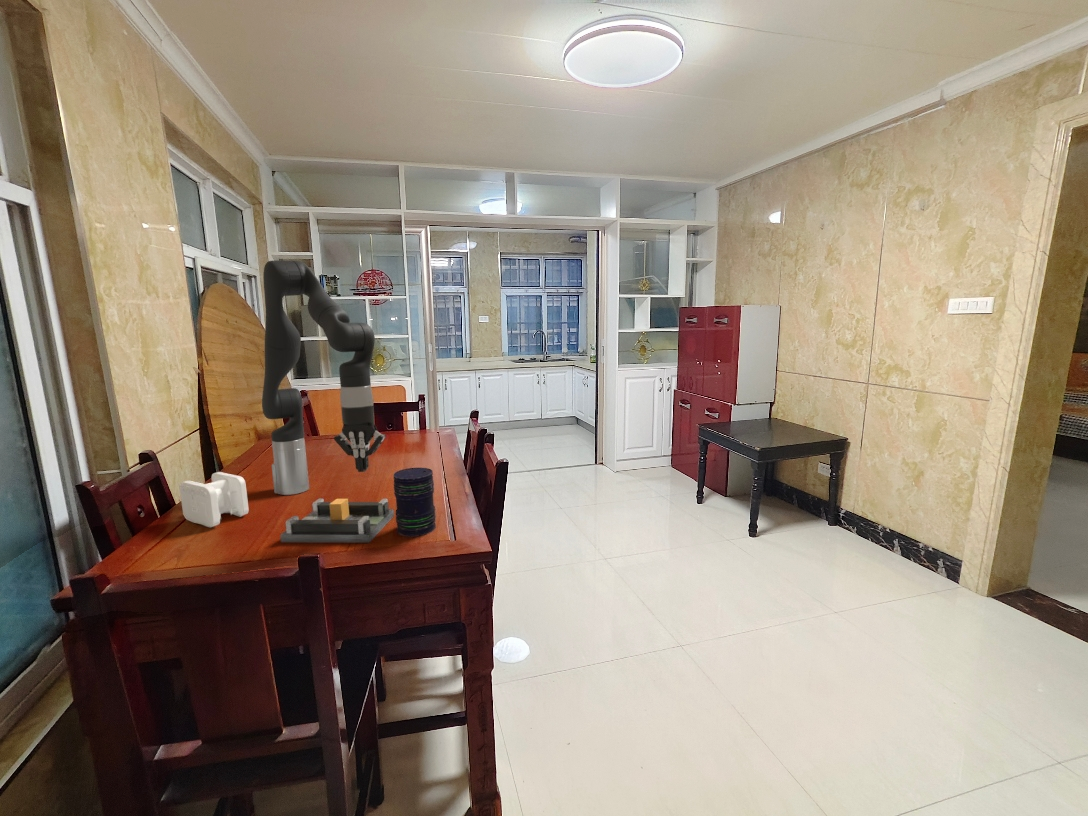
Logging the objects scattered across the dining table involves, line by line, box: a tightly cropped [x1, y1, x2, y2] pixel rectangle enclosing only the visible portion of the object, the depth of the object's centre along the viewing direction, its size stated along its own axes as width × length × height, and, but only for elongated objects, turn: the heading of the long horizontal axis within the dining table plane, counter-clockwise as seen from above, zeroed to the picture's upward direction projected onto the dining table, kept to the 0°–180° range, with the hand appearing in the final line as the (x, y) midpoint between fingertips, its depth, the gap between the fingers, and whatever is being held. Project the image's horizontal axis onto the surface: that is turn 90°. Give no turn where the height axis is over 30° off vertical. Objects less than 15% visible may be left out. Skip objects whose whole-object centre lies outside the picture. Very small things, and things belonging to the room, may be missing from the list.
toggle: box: [329, 498, 352, 520], centre depth 125 cm, size 4×4×5 cm
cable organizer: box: [178, 471, 249, 528], centre depth 133 cm, size 15×11×12 cm
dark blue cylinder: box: [393, 467, 437, 537], centre depth 124 cm, size 10×10×15 cm
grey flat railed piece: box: [280, 498, 395, 544], centre depth 125 cm, size 22×17×5 cm
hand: (362, 471), depth 123 cm, fingers closed
